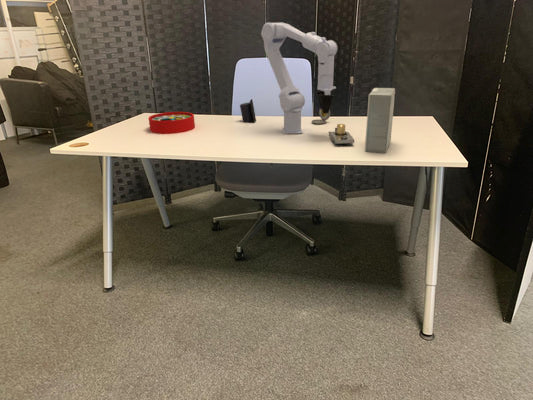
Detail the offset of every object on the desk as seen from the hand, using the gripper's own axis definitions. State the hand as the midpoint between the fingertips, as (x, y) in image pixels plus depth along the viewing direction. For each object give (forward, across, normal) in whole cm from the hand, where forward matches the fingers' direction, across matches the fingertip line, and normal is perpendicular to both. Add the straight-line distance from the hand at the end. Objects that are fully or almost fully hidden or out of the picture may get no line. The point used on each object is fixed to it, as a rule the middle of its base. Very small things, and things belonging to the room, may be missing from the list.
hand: (324, 111), depth 154 cm
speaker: (+11, +32, +32) cm, 46 cm away
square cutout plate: (+10, -5, -6) cm, 13 cm away
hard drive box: (+11, -15, -18) cm, 26 cm away
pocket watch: (+11, +26, -2) cm, 28 cm away
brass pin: (+10, -5, -6) cm, 13 cm away
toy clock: (+11, +21, +66) cm, 70 cm away
